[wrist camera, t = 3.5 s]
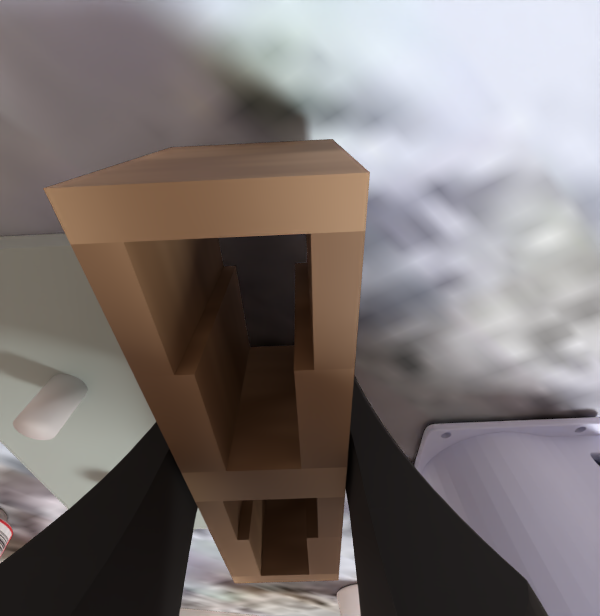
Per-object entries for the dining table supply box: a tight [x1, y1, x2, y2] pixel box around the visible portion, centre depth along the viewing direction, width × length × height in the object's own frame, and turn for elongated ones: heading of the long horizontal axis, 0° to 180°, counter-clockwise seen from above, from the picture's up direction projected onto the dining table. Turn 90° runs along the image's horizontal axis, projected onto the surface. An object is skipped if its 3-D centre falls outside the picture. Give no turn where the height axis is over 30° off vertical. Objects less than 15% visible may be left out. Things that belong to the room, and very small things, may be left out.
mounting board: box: [0, 233, 208, 529], centre depth 14 cm, size 10×20×3 cm, turn 2°
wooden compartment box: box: [43, 139, 370, 583], centre depth 11 cm, size 4×16×5 cm, turn 2°
